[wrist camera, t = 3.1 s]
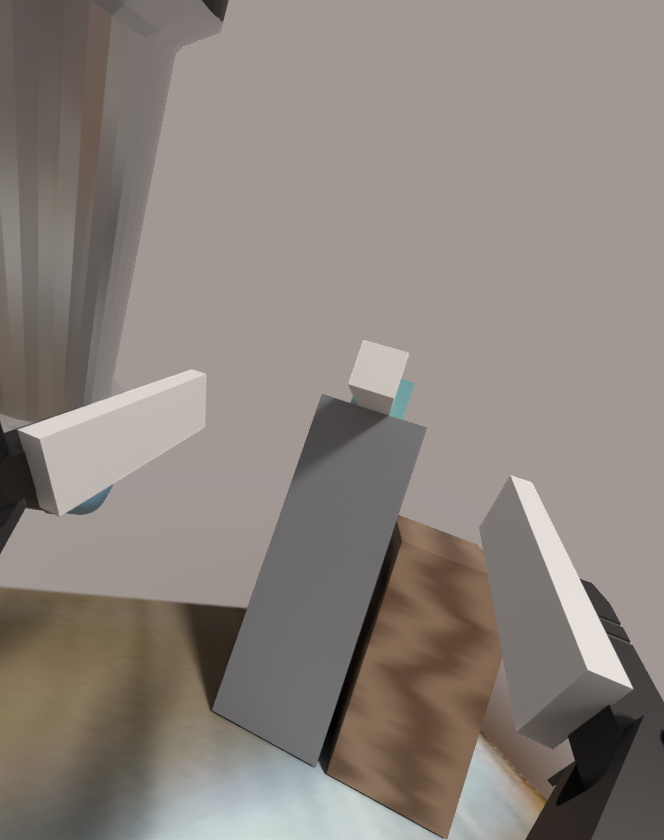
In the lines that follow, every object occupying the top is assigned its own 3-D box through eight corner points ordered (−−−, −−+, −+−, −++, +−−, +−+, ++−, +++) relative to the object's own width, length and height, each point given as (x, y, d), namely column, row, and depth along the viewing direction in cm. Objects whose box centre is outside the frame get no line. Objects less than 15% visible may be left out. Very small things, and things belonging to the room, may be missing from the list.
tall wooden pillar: (326, 773, 26) (402, 541, 27) (343, 672, 37) (395, 513, 38) (447, 839, 24) (523, 588, 25) (424, 711, 36) (476, 544, 37)
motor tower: (211, 710, 28) (321, 393, 29) (261, 632, 39) (338, 410, 41) (315, 767, 26) (427, 427, 27) (335, 668, 38) (412, 435, 39)
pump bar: (326, 377, 20) (351, 305, 20) (352, 415, 40) (364, 379, 41) (417, 405, 19) (443, 329, 19) (396, 430, 39) (409, 393, 40)
